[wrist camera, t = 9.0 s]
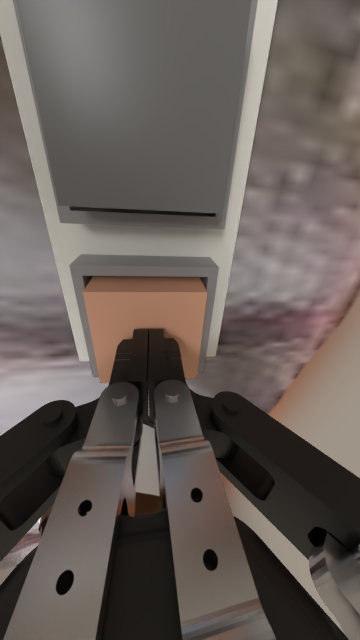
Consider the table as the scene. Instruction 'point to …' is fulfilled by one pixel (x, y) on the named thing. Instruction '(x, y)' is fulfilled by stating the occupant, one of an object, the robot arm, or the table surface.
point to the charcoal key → (137, 98)
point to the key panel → (143, 225)
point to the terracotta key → (145, 315)
